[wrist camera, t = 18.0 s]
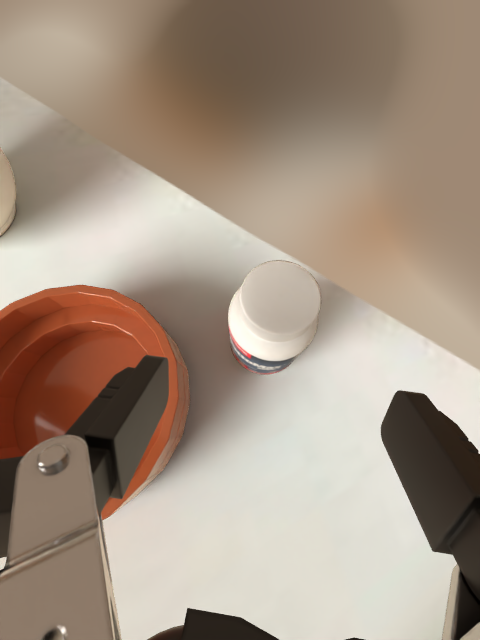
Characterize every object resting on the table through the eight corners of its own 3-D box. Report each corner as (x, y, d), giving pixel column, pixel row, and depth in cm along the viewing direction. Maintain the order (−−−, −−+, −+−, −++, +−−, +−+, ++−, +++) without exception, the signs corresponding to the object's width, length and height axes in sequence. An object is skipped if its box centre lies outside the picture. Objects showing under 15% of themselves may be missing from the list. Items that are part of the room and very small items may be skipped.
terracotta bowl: (-52, 444, 19) (-136, 451, 15) (79, 283, 23) (43, 253, 19) (113, 563, 17) (70, 612, 13) (225, 360, 21) (221, 346, 17)
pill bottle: (217, 353, 21) (203, 312, 13) (250, 300, 23) (257, 232, 14) (278, 388, 20) (305, 369, 12) (308, 330, 22) (351, 277, 13)
